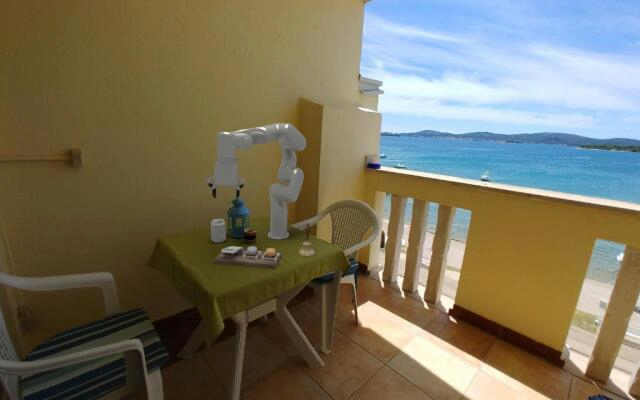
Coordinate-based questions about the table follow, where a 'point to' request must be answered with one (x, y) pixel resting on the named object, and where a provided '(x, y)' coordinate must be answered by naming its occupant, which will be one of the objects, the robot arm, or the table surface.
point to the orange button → (270, 252)
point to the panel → (248, 259)
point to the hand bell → (307, 244)
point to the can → (218, 230)
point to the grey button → (251, 250)
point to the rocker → (231, 249)
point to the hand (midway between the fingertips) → (226, 197)
